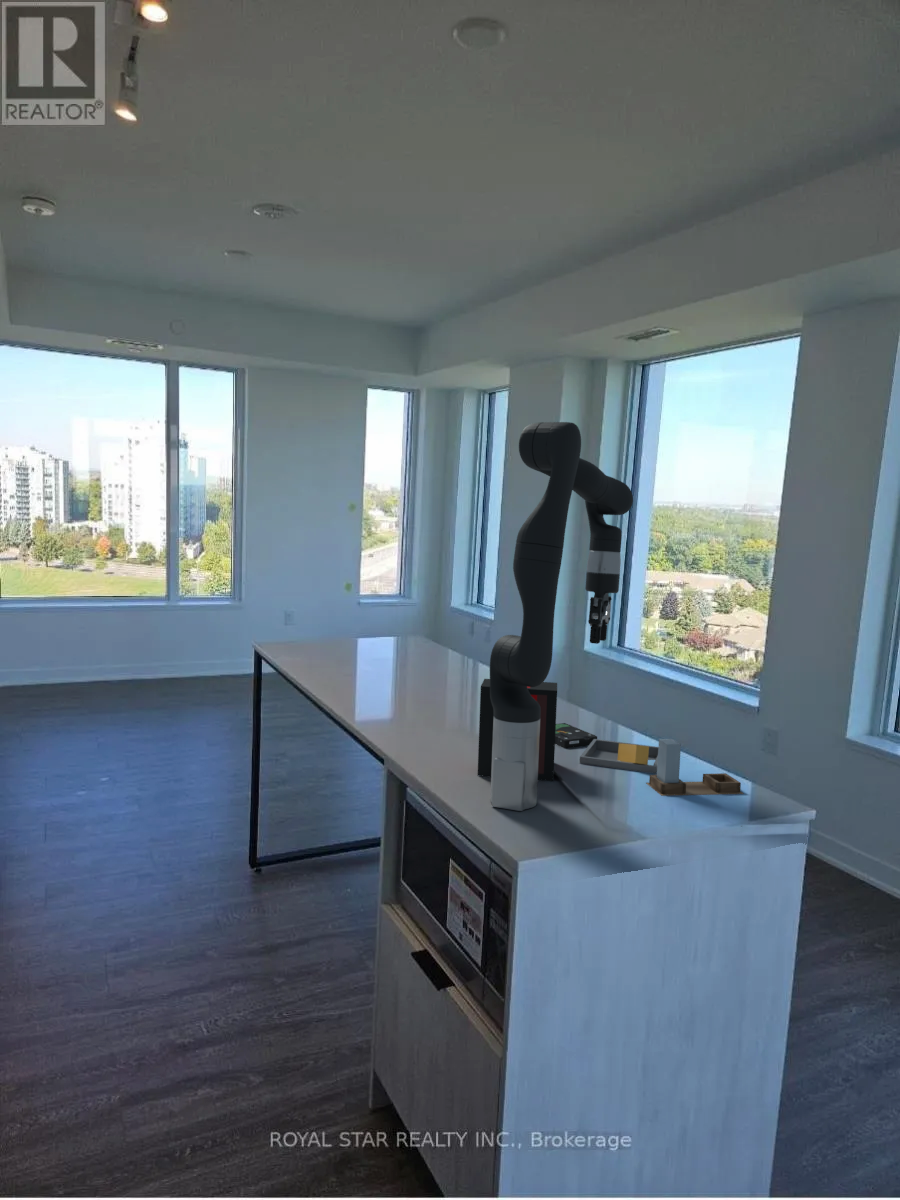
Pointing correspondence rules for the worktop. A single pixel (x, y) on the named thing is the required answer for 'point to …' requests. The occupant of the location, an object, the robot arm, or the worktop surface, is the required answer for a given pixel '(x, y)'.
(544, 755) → the cleaning product box
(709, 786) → the block
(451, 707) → the worktop surface
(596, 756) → the tray
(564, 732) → the disk drive
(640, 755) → the yellow rectangular block
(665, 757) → the block
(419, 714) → the worktop surface
